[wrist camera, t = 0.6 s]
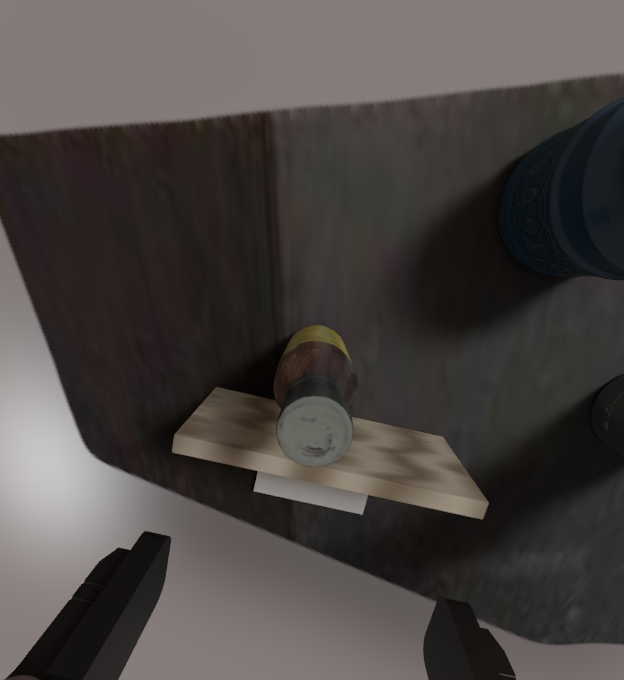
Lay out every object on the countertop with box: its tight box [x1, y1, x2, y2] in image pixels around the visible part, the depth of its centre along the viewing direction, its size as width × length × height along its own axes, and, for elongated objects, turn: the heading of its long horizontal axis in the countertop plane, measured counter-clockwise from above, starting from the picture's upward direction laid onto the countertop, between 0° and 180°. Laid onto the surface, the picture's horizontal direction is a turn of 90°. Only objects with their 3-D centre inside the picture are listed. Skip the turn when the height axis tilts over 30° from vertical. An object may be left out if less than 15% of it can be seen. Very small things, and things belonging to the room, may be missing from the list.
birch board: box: [172, 387, 489, 520], centre depth 33 cm, size 26×2×11 cm, turn 77°
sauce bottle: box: [274, 325, 358, 467], centre depth 27 cm, size 7×6×20 cm
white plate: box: [254, 471, 368, 514], centre depth 40 cm, size 13×8×1 cm, turn 77°
